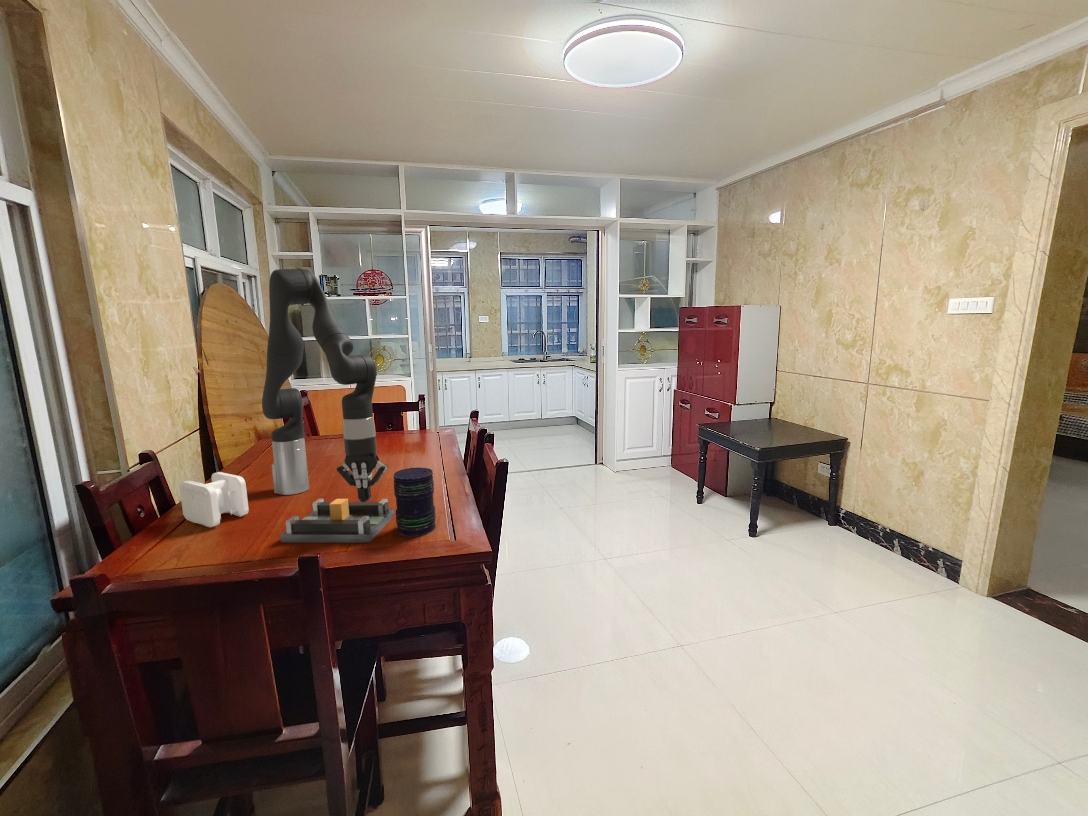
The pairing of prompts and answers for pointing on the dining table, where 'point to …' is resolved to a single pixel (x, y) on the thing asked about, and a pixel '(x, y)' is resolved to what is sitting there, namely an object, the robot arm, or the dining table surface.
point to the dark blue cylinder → (414, 501)
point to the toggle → (339, 510)
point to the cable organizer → (214, 499)
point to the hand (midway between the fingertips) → (365, 500)
